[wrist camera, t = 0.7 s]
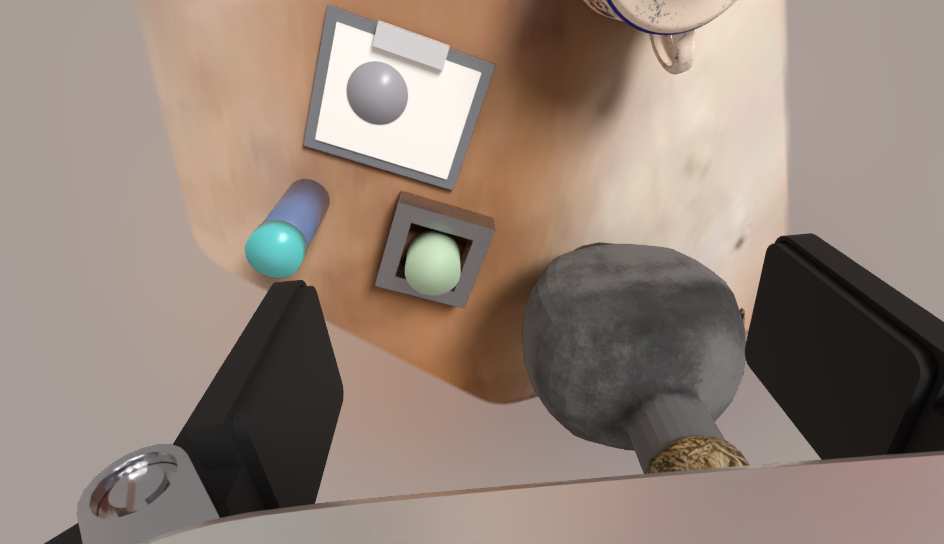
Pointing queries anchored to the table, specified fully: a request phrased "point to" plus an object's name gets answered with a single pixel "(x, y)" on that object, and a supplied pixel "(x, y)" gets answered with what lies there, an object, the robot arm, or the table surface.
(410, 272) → the button
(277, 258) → the cylinder
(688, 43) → the teacup with lid
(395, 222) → the button base
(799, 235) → the robot arm
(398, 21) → the table surface
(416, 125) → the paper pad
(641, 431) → the pitcher
